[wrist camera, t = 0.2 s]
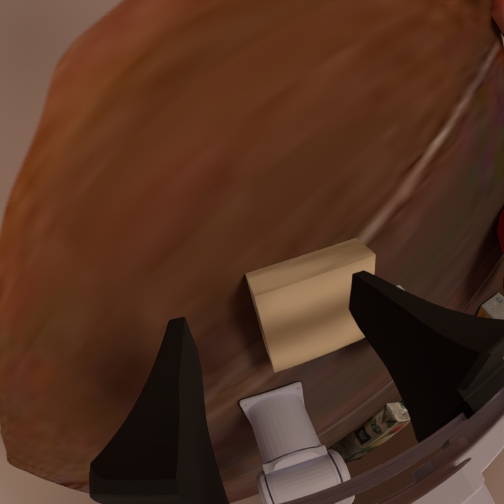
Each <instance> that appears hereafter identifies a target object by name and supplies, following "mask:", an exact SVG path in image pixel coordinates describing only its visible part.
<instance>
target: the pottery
mask: <svg viewBox="0 0 504 504" xmlns="http://www.w3.org/2000/svg"><path fill="white" fill-rule="evenodd" d="M491 16H492V18H493V19H494V21H495V22H496V24H497V25H498V27H499V29H500V30H501V32H502V35H503V37H504V0H493V5H492V13H491Z"/></svg>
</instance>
